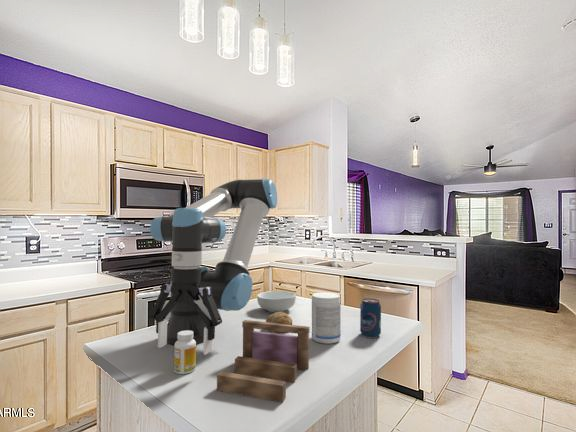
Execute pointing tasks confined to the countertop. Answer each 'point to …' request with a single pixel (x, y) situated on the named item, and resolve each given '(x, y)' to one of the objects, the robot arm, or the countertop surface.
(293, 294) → the cereal bowl
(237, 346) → the countertop surface
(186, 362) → the supplement bottle
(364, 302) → the soda can
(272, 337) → the wooden rack
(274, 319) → the bread roll
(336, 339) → the supplement tub
